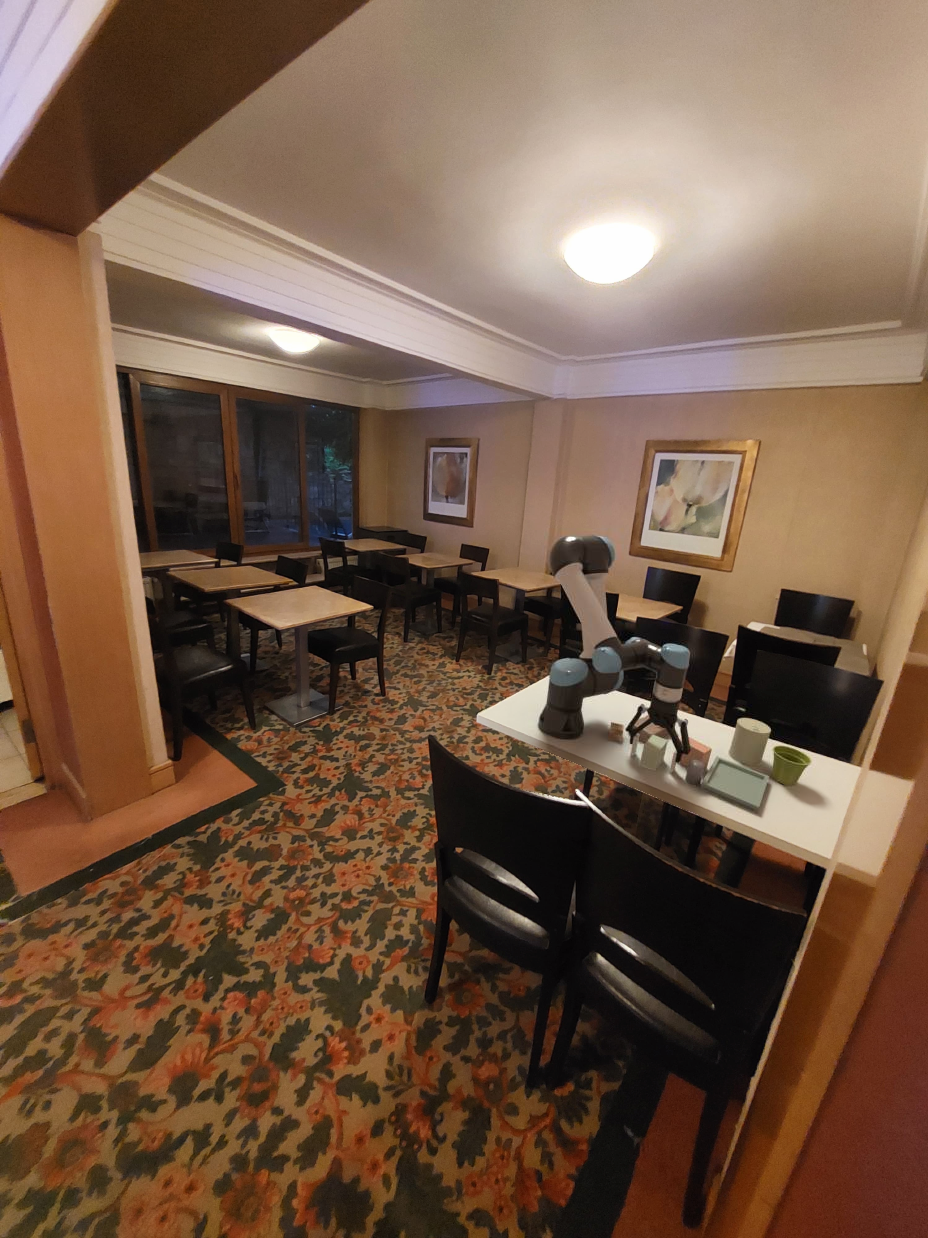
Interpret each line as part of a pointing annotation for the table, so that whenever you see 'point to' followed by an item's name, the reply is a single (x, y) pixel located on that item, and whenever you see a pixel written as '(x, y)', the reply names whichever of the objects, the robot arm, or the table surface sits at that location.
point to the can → (749, 741)
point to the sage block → (653, 752)
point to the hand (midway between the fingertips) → (652, 762)
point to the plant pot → (788, 764)
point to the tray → (735, 783)
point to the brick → (649, 730)
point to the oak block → (616, 731)
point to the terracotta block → (696, 753)
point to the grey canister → (694, 772)
